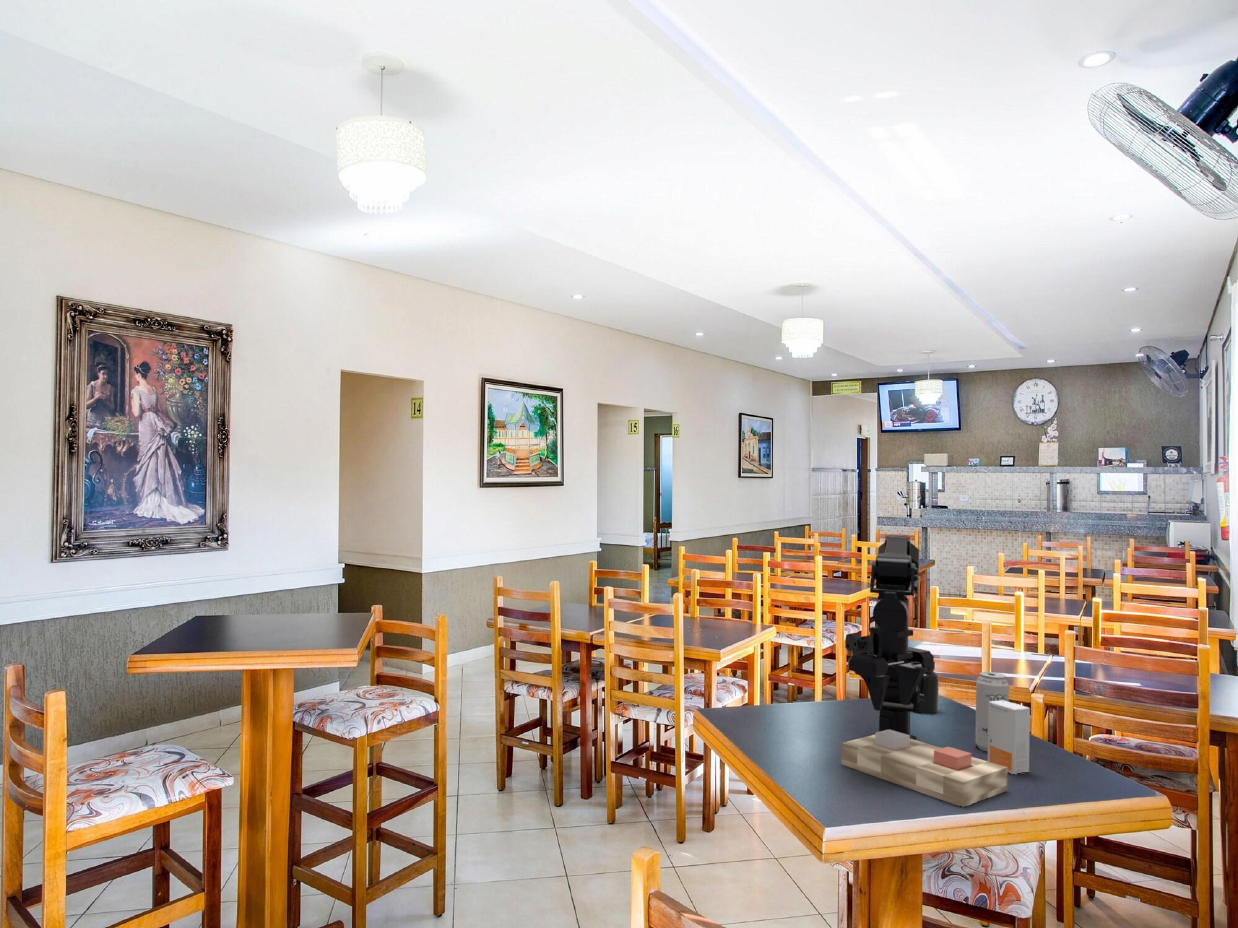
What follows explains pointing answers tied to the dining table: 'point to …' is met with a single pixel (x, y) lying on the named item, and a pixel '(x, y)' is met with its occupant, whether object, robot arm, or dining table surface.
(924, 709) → the supplement bottle
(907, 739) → the button grey
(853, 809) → the dining table surface
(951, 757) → the button red
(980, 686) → the energy drink can
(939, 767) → the console
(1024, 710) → the skincare box
